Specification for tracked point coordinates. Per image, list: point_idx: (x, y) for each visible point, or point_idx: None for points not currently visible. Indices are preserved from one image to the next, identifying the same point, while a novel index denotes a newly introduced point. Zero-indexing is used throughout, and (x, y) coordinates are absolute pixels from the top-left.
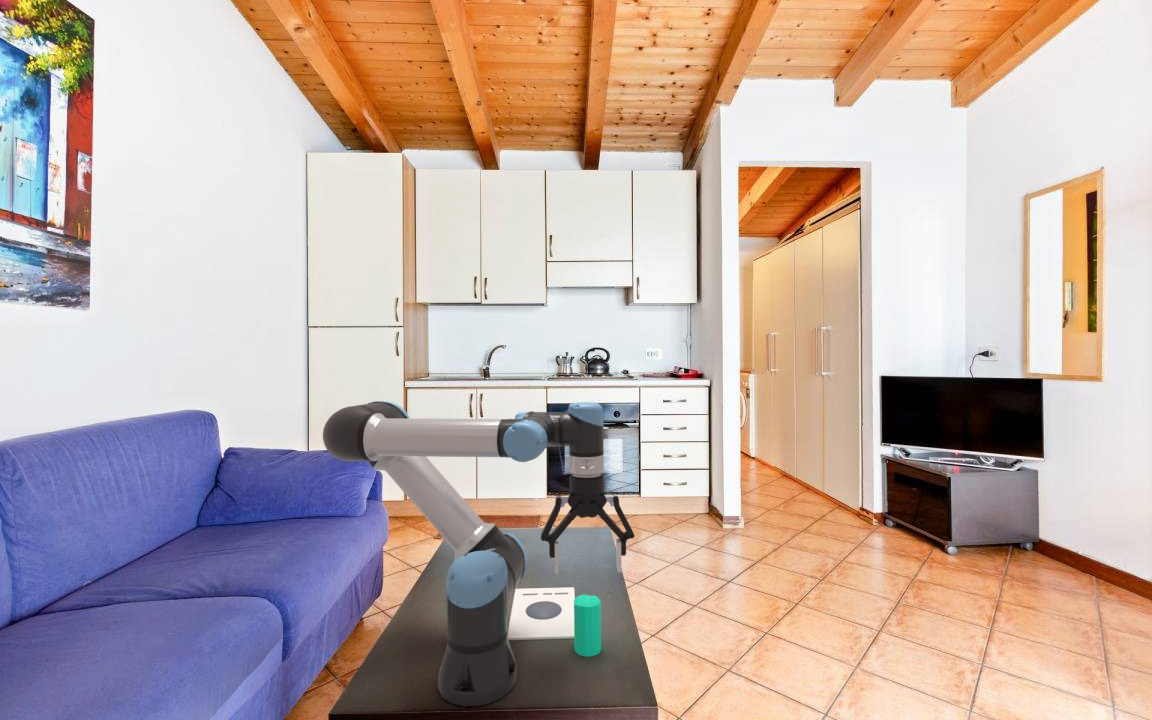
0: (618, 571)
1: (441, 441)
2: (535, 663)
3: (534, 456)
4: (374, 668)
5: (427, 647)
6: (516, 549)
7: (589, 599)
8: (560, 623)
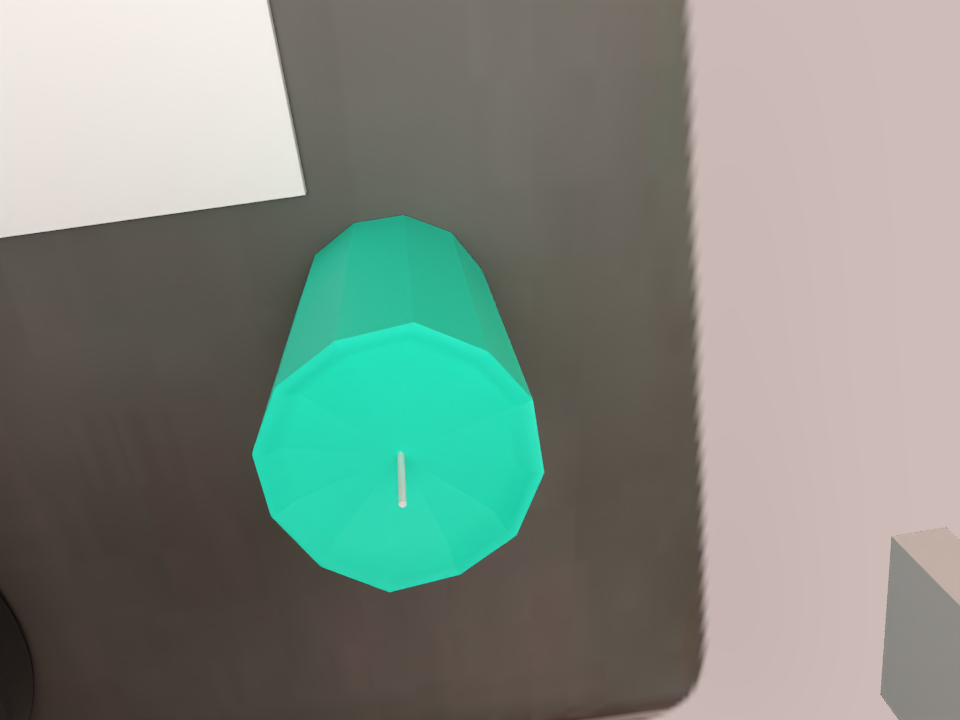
0: (896, 707)
1: None
2: (84, 491)
3: None
4: None
5: None
6: None
7: (416, 389)
8: (120, 10)
